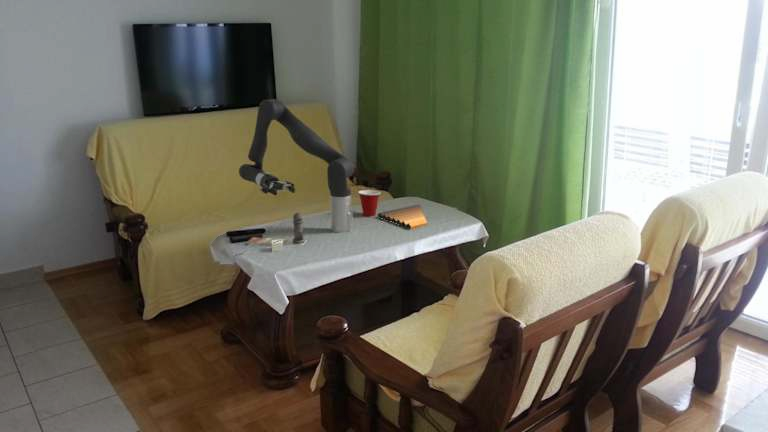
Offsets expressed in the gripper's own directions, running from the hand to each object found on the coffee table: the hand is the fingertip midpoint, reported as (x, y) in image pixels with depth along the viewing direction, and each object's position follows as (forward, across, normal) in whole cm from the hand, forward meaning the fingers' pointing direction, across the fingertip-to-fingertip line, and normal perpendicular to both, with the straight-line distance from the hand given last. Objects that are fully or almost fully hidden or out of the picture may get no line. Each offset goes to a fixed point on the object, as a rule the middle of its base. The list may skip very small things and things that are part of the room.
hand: (285, 191), depth 262 cm
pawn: (+12, 0, +18) cm, 22 cm away
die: (+15, -11, +20) cm, 27 cm away
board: (+6, -6, +20) cm, 22 cm away
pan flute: (+14, +63, +18) cm, 67 cm away
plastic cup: (-4, +50, +20) cm, 54 cm away
